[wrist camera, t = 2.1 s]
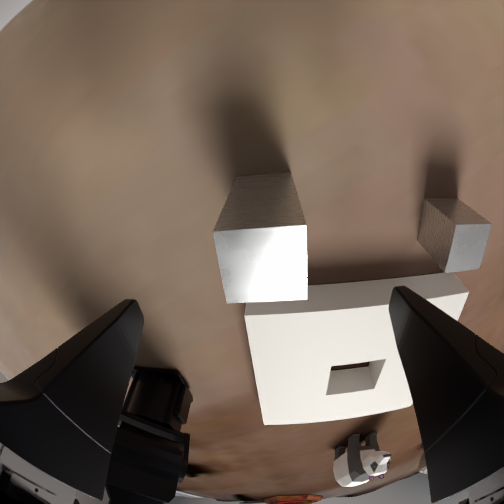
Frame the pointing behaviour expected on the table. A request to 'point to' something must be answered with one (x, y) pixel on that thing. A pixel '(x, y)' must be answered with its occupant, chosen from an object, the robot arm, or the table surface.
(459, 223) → the short pin
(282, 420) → the hole block
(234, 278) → the long pin
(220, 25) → the table surface
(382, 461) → the giant panda
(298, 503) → the figurine with light
